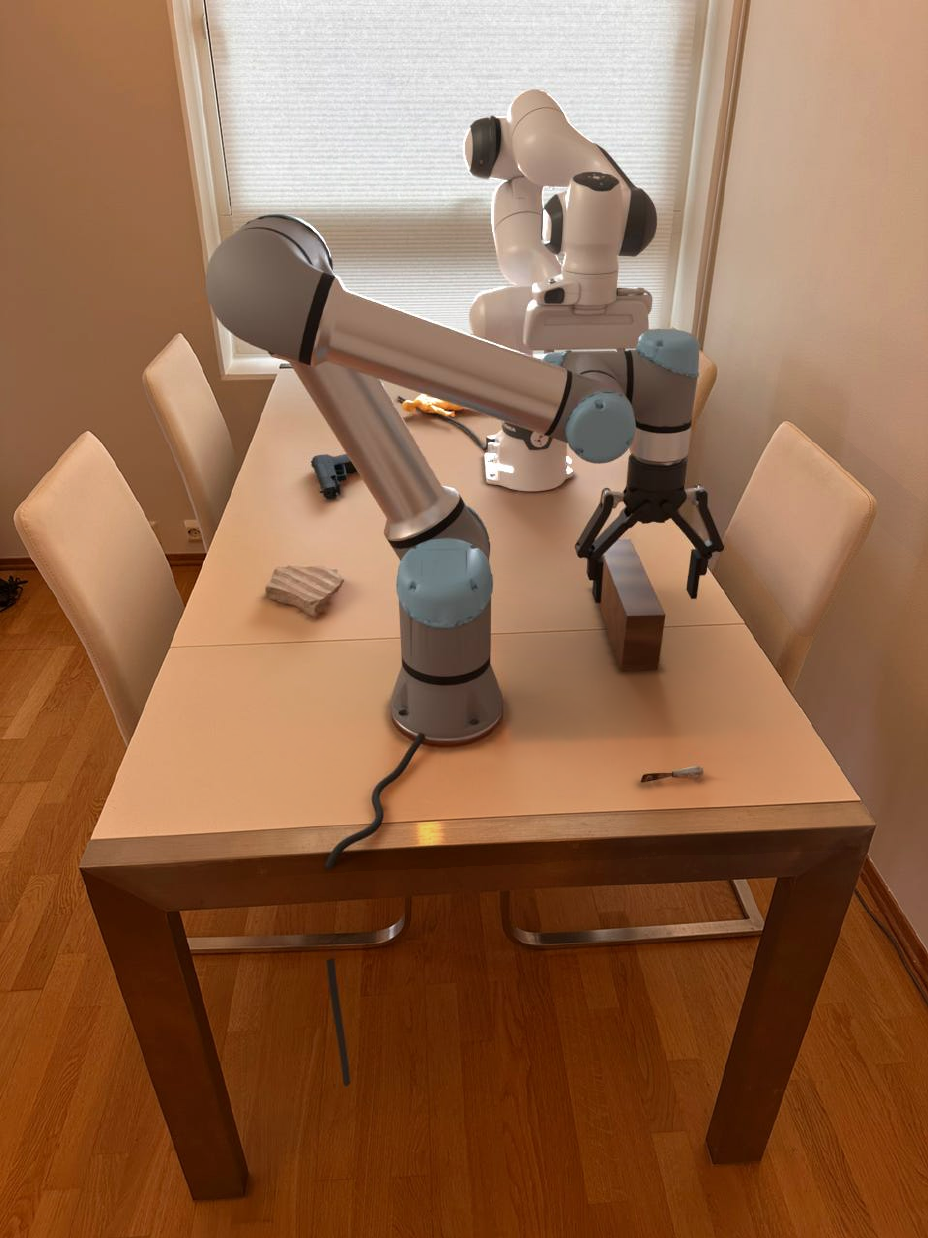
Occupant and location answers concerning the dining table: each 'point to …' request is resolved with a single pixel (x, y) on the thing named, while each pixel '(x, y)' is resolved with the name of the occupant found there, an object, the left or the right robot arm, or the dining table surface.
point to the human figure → (430, 405)
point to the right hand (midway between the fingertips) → (582, 375)
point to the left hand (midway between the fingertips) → (644, 596)
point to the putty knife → (674, 774)
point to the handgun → (332, 472)
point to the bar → (631, 609)
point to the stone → (304, 587)
